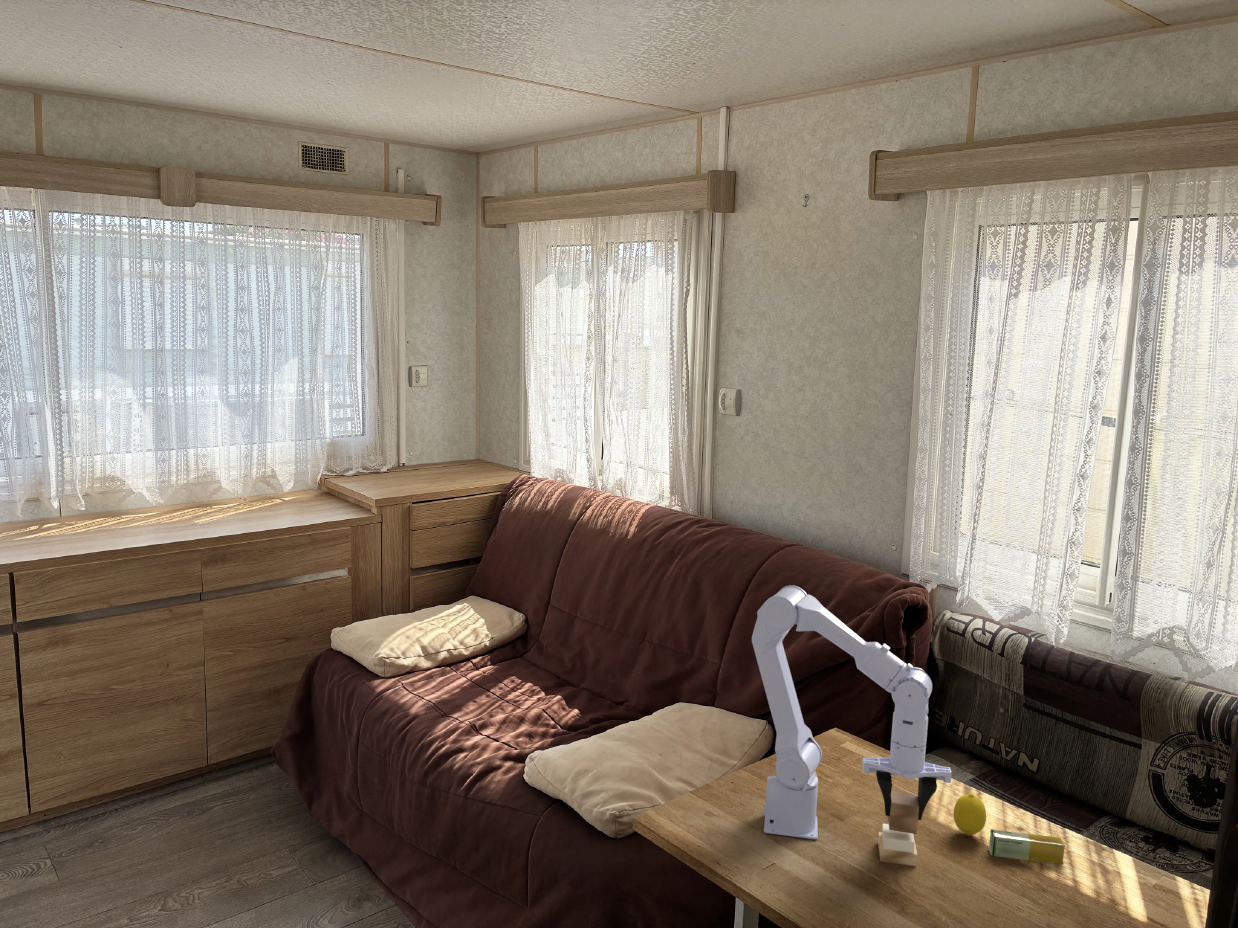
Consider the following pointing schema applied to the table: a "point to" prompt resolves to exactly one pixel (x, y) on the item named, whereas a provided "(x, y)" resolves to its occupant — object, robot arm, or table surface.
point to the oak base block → (896, 854)
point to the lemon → (969, 814)
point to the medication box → (1026, 846)
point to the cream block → (897, 840)
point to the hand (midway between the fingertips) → (902, 814)
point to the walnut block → (903, 812)
